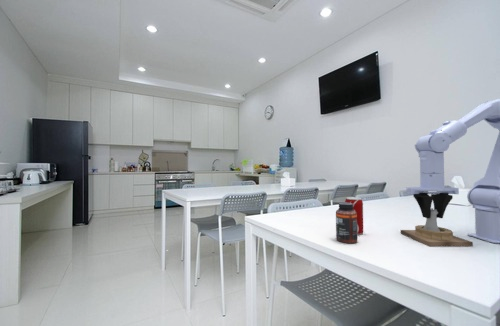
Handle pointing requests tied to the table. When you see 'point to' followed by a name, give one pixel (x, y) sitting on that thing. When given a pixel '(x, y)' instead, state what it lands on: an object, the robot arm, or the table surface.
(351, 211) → the supplement bottle
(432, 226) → the rook chess piece
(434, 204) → the robot arm
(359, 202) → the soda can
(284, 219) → the table surface
